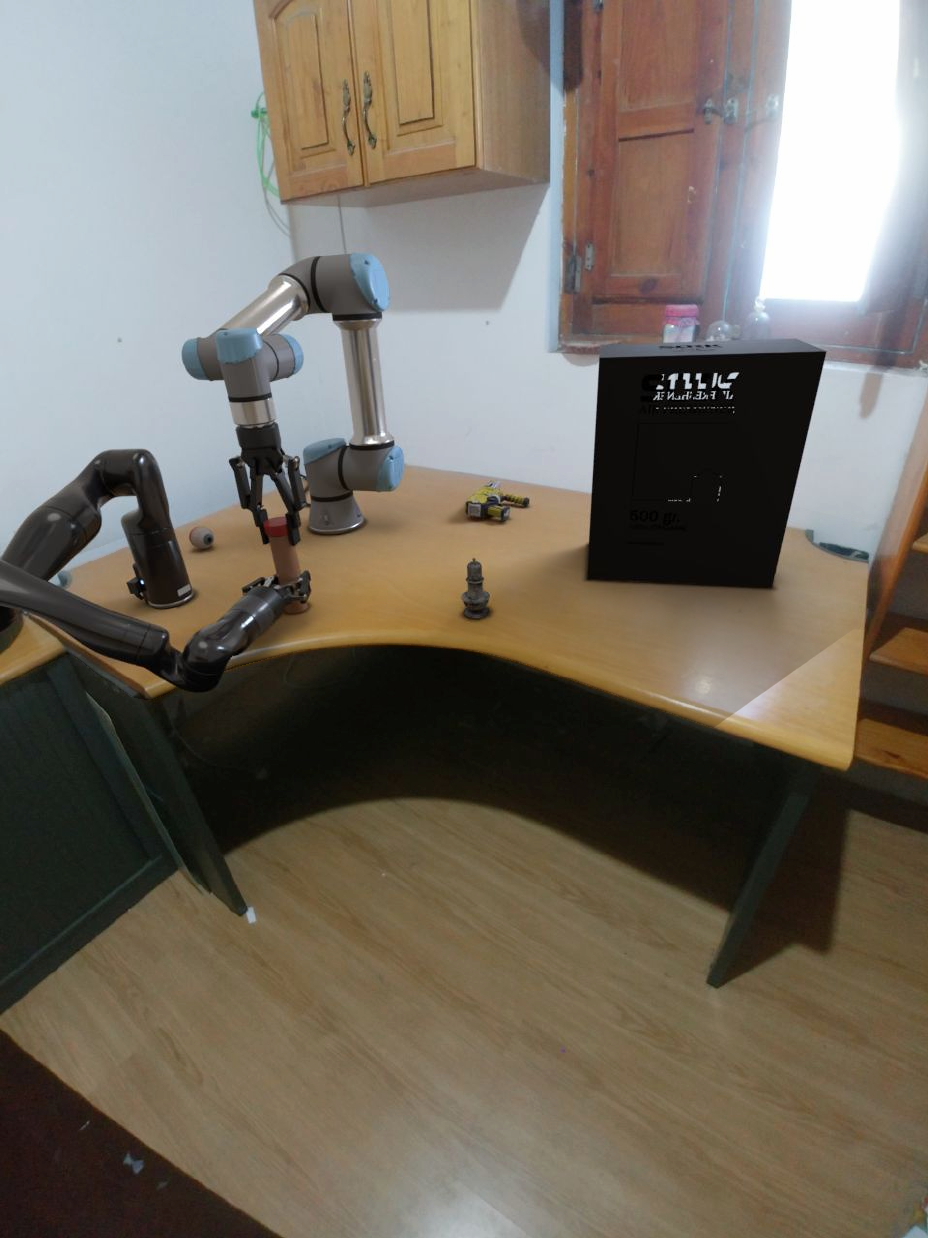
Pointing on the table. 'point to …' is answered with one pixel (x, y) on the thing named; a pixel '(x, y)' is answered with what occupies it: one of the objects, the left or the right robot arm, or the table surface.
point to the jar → (286, 566)
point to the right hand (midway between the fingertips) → (282, 542)
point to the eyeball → (201, 537)
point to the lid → (276, 526)
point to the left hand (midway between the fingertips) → (296, 574)
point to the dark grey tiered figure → (475, 592)
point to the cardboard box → (698, 459)
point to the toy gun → (492, 502)
